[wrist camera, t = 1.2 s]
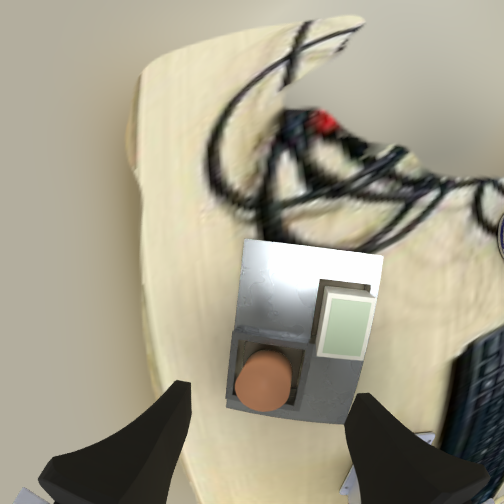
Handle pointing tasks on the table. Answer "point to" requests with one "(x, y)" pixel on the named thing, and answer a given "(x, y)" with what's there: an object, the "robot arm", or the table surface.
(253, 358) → the button
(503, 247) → the energy drink
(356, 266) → the panel
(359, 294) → the on key
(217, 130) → the table surface
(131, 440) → the robot arm
